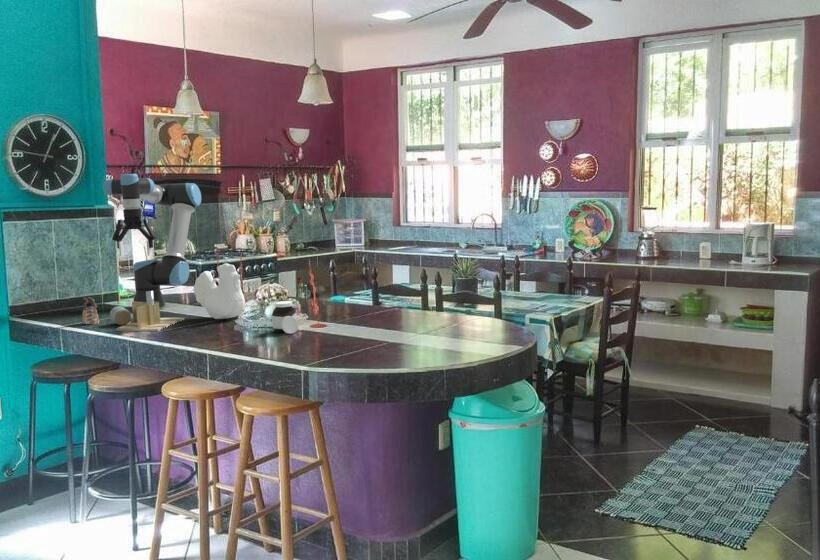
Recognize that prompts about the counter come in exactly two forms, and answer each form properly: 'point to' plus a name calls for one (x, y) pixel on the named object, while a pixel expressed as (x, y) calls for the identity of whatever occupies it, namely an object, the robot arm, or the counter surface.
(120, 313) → the ceramic mug
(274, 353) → the counter surface
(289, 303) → the spread jar
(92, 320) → the figurine
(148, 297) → the hinge pin
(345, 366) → the counter surface
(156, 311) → the brass hinge
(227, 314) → the decorative rooster
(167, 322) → the birch board
